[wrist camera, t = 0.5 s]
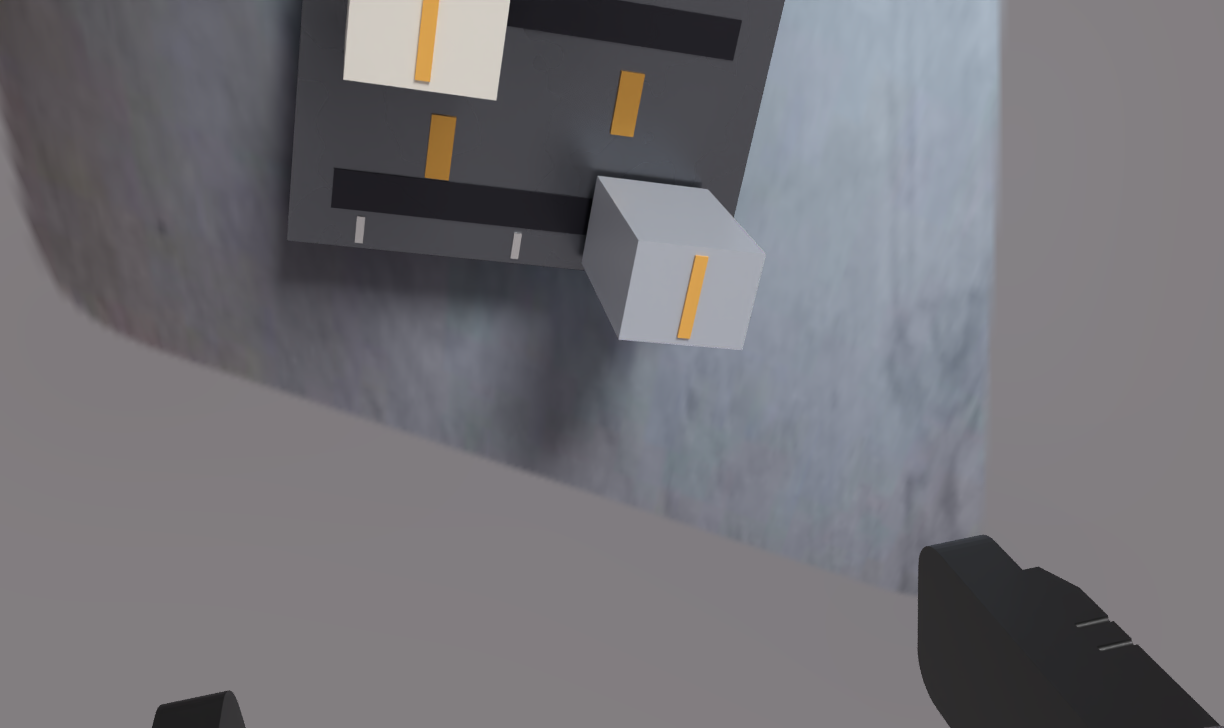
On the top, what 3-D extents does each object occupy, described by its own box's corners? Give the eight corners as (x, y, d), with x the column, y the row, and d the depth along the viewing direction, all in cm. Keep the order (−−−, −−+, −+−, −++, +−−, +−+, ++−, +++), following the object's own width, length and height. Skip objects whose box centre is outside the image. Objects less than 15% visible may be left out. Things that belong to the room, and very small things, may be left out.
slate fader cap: (597, 175, 29) (639, 240, 25) (707, 189, 30) (766, 255, 25) (581, 262, 30) (619, 341, 26) (688, 273, 31) (742, 351, 26)
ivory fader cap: (354, -76, 25) (354, -50, 21) (487, -53, 26) (513, -23, 22) (345, 34, 26) (342, 80, 22) (474, 53, 27) (496, 101, 23)
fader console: (316, -175, 26) (314, -173, 24) (776, -87, 29) (804, -79, 27) (290, 214, 30) (286, 241, 28) (698, 257, 33) (719, 284, 31)
